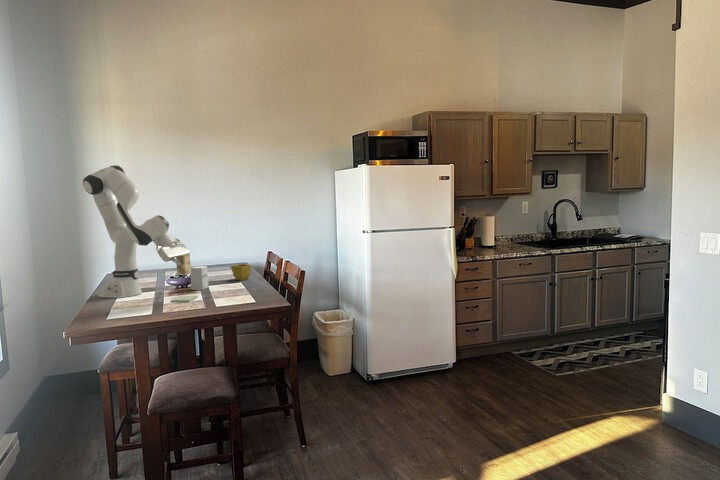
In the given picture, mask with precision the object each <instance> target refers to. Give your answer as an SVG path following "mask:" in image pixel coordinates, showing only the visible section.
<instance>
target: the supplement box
mask: <svg viewBox="0 0 720 480" xmlns="http://www.w3.org/2000/svg"><path fill="white" fill-rule="evenodd" d="M189 275H190V276H189V277H190V287H191V288H190V289H191V290H192V291H203V290H205V289H207V288H209V276H208V266H207V265H204V266H203V265H201V266H199V265H197V266H193V267H191V273H190V274H189Z"/></svg>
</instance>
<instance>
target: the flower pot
mask: <svg viewBox="0 0 720 480" xmlns="http://www.w3.org/2000/svg"><path fill="white" fill-rule="evenodd" d="M251 268H252V264H244V263H240V264H239V263H238V264H235V265H231V272H232V275H233V277H234V279H236V281H245V280H248V279H249V278H250V275H251V270H252V269H251Z"/></svg>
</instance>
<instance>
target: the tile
mask: <svg viewBox="0 0 720 480" xmlns="http://www.w3.org/2000/svg"><path fill="white" fill-rule="evenodd" d="M196 299H198V295H179V296H177V297H174V298H173V299H171V300H170V302H171V303H190V302H192V301H194V300H196Z"/></svg>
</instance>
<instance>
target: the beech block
mask: <svg viewBox="0 0 720 480" xmlns="http://www.w3.org/2000/svg"><path fill="white" fill-rule="evenodd" d="M176 258H177V260H179V261H181V262H182V264H181V265H180V266H179V265H178V264H176V263H175V264H176V275H178V276H179V275H183V276H184V275H185V276H186V275H190V273H191V268H192V266H191V253H190V254H182V255H177V257H176Z"/></svg>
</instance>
